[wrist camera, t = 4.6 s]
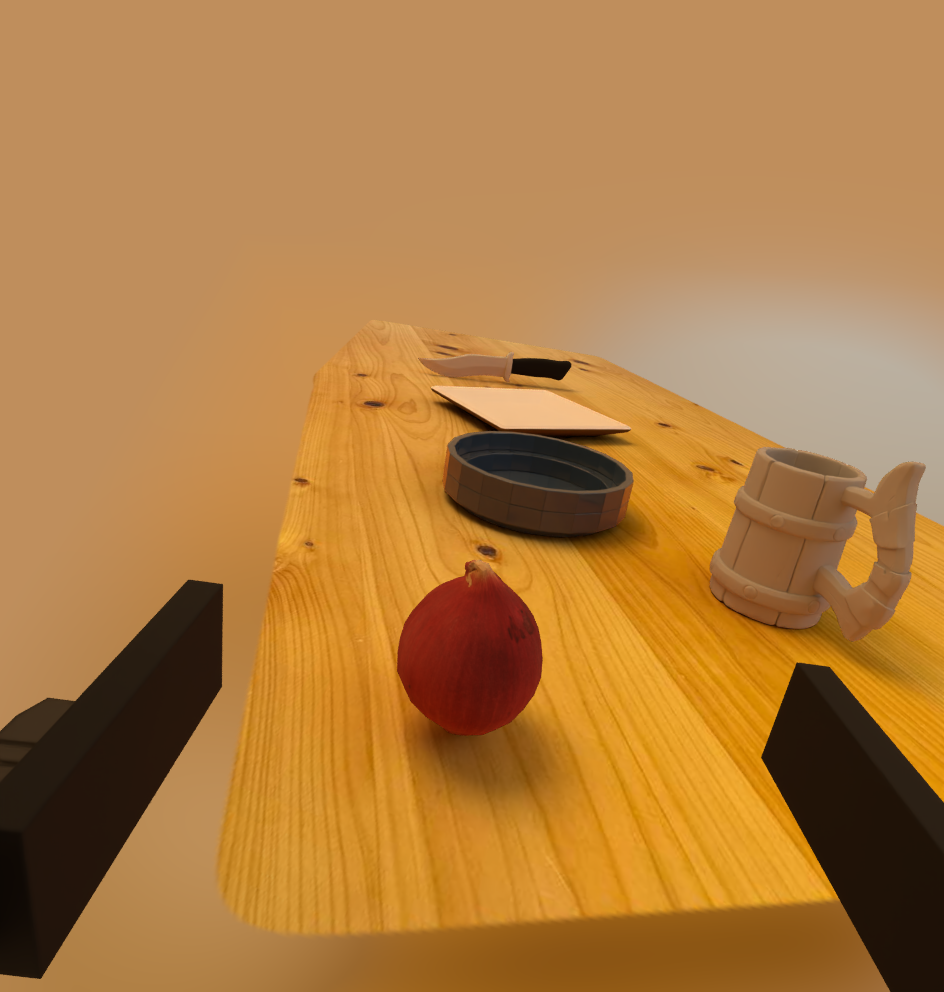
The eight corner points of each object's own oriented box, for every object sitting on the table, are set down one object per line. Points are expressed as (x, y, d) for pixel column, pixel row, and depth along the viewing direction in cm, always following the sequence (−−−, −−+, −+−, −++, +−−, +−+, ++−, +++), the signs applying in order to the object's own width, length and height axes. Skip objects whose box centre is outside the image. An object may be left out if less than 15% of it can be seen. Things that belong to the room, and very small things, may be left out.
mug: (760, 569, 48) (814, 414, 44) (911, 664, 38) (998, 475, 34) (680, 575, 45) (729, 409, 41) (821, 680, 35) (905, 474, 31)
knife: (416, 374, 101) (420, 341, 99) (415, 371, 102) (419, 339, 100) (567, 391, 106) (573, 360, 104) (564, 388, 108) (570, 358, 106)
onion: (493, 679, 31) (521, 527, 28) (549, 767, 26) (590, 594, 23) (374, 694, 29) (393, 531, 26) (412, 794, 24) (439, 606, 21)
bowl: (420, 516, 48) (427, 465, 47) (462, 461, 62) (468, 421, 61) (624, 560, 46) (637, 508, 45) (619, 493, 60) (629, 452, 59)
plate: (499, 445, 70) (502, 426, 69) (427, 400, 85) (429, 384, 84) (629, 443, 79) (633, 427, 78) (543, 403, 94) (546, 389, 93)
